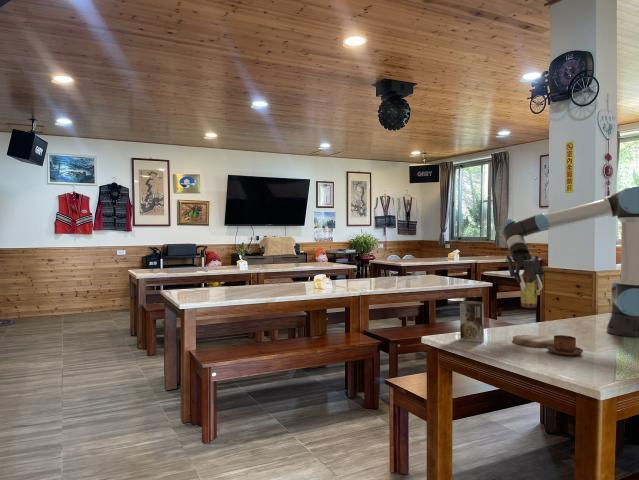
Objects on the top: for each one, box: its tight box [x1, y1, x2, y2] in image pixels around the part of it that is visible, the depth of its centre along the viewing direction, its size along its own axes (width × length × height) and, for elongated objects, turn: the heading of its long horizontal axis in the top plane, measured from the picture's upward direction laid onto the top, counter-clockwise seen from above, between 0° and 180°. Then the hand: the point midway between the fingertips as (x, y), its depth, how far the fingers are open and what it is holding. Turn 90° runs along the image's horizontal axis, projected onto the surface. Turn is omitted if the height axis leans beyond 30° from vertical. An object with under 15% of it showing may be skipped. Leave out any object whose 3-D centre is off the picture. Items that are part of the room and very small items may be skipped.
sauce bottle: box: [520, 259, 538, 309], centre depth 198 cm, size 6×6×20 cm
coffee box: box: [459, 300, 485, 343], centre depth 197 cm, size 9×6×16 cm
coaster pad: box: [512, 334, 554, 349], centre depth 192 cm, size 16×16×2 cm
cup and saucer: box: [546, 334, 584, 356], centre depth 176 cm, size 12×12×6 cm
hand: (532, 288), depth 195 cm, fingers closed on sauce bottle, 6 cm apart
